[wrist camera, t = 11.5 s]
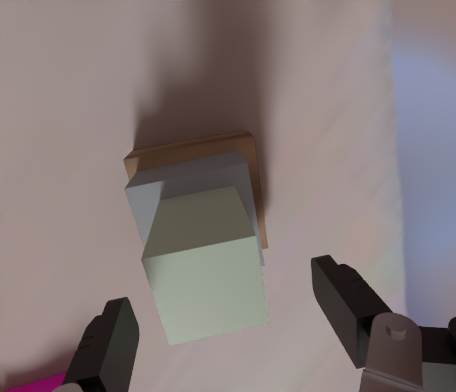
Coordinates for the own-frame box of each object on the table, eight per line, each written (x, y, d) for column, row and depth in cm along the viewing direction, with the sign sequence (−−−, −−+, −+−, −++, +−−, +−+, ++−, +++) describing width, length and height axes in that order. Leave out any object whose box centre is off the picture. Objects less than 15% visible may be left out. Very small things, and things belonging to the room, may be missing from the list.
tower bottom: (133, 149, 25) (123, 159, 22) (245, 129, 26) (253, 136, 22) (161, 246, 29) (156, 270, 25) (258, 227, 29) (268, 247, 26)
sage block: (159, 200, 19) (141, 259, 12) (234, 185, 19) (256, 235, 12) (177, 264, 21) (169, 345, 14) (245, 249, 21) (269, 323, 14)
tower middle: (136, 171, 22) (124, 188, 18) (238, 150, 22) (247, 163, 19) (163, 259, 25) (158, 289, 21) (254, 239, 25) (264, 265, 21)
